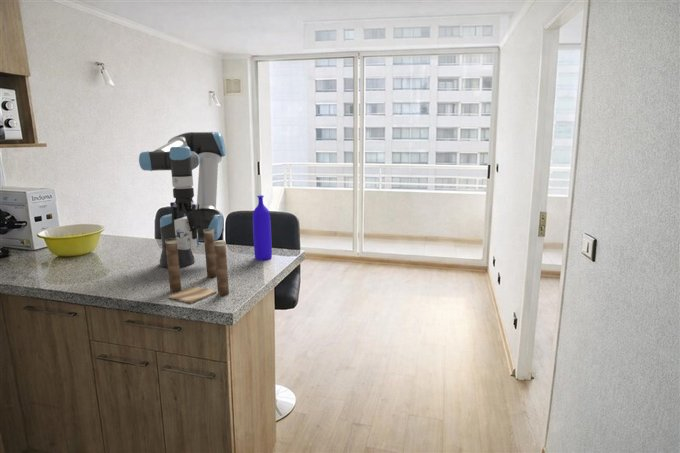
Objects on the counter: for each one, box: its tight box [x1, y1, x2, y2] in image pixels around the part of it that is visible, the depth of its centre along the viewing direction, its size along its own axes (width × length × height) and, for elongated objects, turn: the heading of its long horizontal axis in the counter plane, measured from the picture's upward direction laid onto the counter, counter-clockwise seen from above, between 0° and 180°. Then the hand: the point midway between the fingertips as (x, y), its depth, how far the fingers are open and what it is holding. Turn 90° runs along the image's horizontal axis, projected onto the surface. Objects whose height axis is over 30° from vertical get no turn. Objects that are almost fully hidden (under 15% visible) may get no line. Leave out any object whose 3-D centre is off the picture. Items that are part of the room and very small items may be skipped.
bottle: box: [252, 194, 273, 261], centre depth 208 cm, size 8×8×30 cm
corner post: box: [214, 239, 230, 297], centre depth 162 cm, size 4×4×20 cm
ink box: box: [174, 216, 200, 250], centre depth 173 cm, size 9×5×12 cm, turn 166°
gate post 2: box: [203, 228, 217, 279], centre depth 183 cm, size 4×4×20 cm
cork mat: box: [167, 285, 217, 304], centre depth 163 cm, size 12×12×1 cm
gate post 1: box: [165, 238, 182, 293], centre depth 167 cm, size 4×4×20 cm
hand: (187, 245), depth 174 cm, fingers closed on ink box, 6 cm apart
